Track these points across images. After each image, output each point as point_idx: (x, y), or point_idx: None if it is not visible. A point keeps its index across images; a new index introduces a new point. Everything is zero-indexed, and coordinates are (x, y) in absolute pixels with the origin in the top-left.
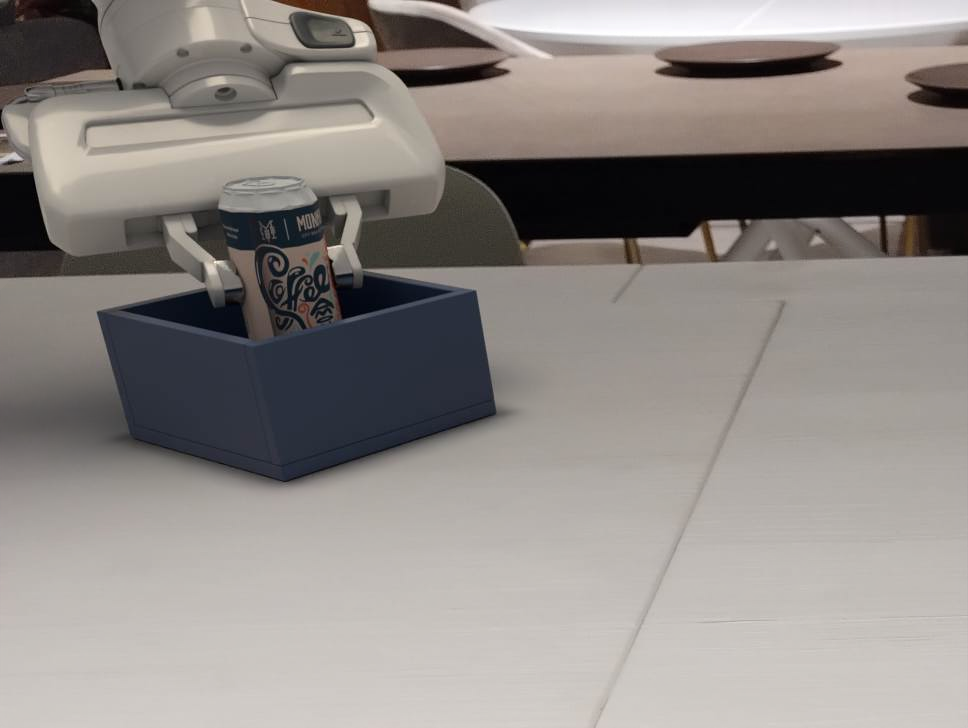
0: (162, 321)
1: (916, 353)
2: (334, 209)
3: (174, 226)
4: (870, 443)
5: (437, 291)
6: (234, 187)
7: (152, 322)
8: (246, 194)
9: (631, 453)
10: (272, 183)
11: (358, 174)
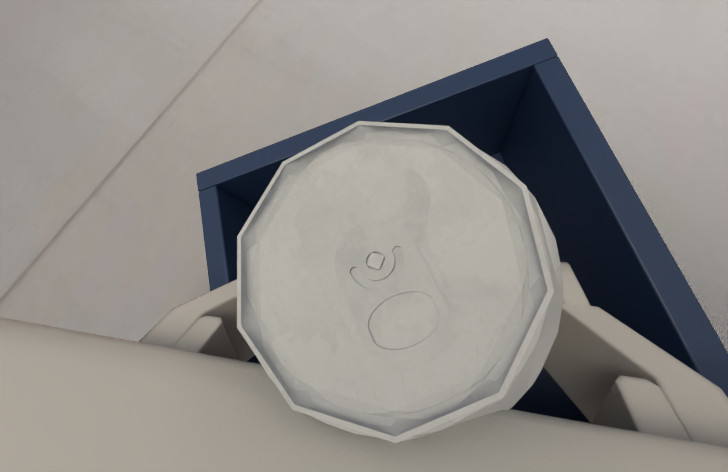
0: (665, 286)
1: (3, 168)
2: (212, 332)
3: (712, 413)
4: (158, 14)
5: (223, 220)
6: (496, 284)
7: (686, 294)
8: (483, 152)
9: (262, 67)
10: (351, 235)
11: (52, 351)
